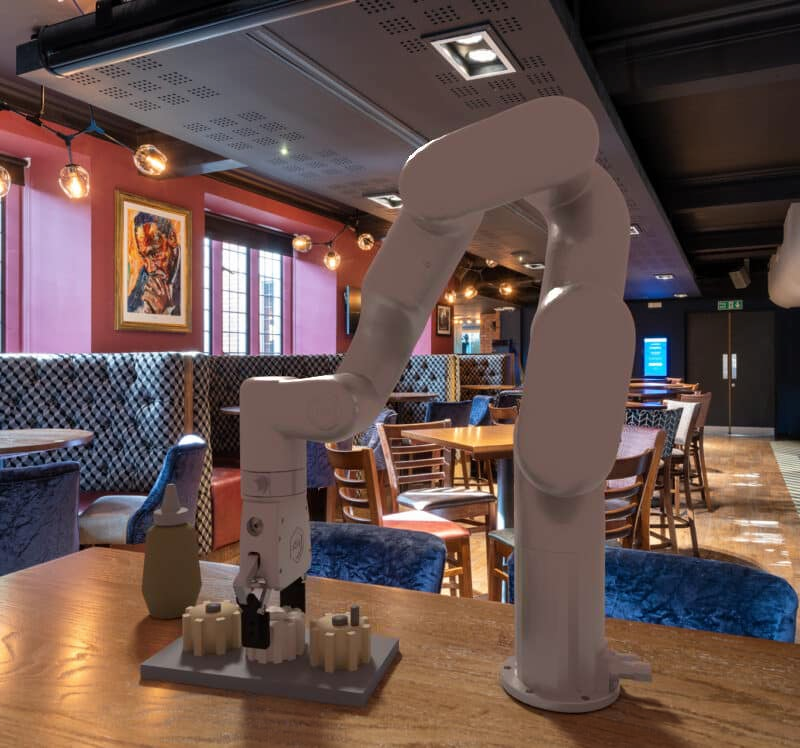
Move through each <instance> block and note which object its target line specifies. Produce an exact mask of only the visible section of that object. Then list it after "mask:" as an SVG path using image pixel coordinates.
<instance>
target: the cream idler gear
mask: <svg viewBox="0 0 800 748" xmlns="http://www.w3.org/2000/svg"><path fill="white" fill-rule="evenodd" d="M266 611H269V612H270V647H269V648H267V649H266V650H264V649H255V648H246V647H245V655H246V656H247V655H248V659H249V660H251V661H254V660H258V663H264V664H266V663H267V662H268V661H269V662H274V664H276V663H282V660H285V659H287V660H289V661H291V660H293V659H296V655H302V654H303V653H304V649H305V628H306V613H305V614H304V612H301V609H299V608H294V609H292V608H291V606H283V607H280V606H277V605H270V606H269V605H268V608H267V609H266ZM273 621H276V622H273Z"/></svg>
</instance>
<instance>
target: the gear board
mask: <svg viewBox="0 0 800 748" xmlns="http://www.w3.org/2000/svg"><path fill="white" fill-rule="evenodd" d="M201 603H202V604H201ZM201 603H200V604H198V605H195V607H192V606H189V607H187V608H186V609H185V614H183V615H182V617H181V618H182V619H181V620H182V635H181V636H180V637H179V636H178V638H176V639H175V640H173V641H172V642H171V643H169V644H168V645H166V646H165V647H164V648H162V649H161V650H159V651H158V652H156V653H155V654H153V655H151V656H150V657H149V658H147V659H146V660H145V661H143V662H142V663H140V665H139V666H140V667H139V668H140V675H139V676H140V679H147V680H154V681H161V682H168V683H176V684H184V685H192V686H198V687H206V688H212V689H213V688H214V689H220V690H227V691H235V692H243V693H249V694H250V693H251V694H256V695H265V696H272V697H280V698H286V699H293V700H294V699H295V700H302V701H309V702H315V701H316V702H317V703H321V704H322V703H324V704H330V705H331V704H332V705H337V704H338V705H339V706H344V705H347V706H346V707H353V708H359V707H360V708H361V709H364V707H365V705H366V704H367V702H368V700H369V699H370V697H371V695H372V694H373V693H374V692H375V689H376V688H377V686H378V685H379V683H380V682H381V680H382V678H383V677H384V676H385V674H386V672H387V670H388V669H389V667H390V665H391V664H392V662H393V661H394V659H395V657H396V656H397V654H399V653H398V652H399V651H400V637H395V636H394V637H392V636H391V637H390V636H382V635H373V634H372V631H371V628H372V627H371V624H370V617H368V616H366V615H363V616H360V606H359V605H356V604H355V605H351V606H349V607H350V611H345V613H335V614H334V613H333V612H332V611H331V612H326V613H323V617H320V618H312V619H310V621H309V628H308V627H305V649H304V653H303V654H302V655H296V659H293V660H291V661H289V660H287V659H285V660H282V663H276V664H274V662H269V661H268V662H267V663H266V664H264V663H258V660H254V661H251V660H249V659H248V655H247V656H246V655H245V647H243V646H242V644H241V613H240V612H239V609H238V608H239V606H238V604H237V603H236V604H234V603H232V600H230V599H224V600H223V601H214V602H213V601H211V600H205V601H202V602H201ZM273 622H276V621H273ZM338 705H337V706H338Z"/></svg>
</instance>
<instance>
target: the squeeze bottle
mask: <svg viewBox="0 0 800 748" xmlns="http://www.w3.org/2000/svg"><path fill="white" fill-rule="evenodd" d="M178 494H179V493H178V491H177V487H176V484H175V483H167V484H166V485H165V490H164V493H163V500H162V503H161V508H160V509H156V510H154V511H153V524H154V525H152V526H150V527H149V528H148V529H147V530H146V535H145V549H144V559H143V569H142V570H143V571H142V578H141V579H142V580H141V594H142V597H143V599H144V602H145V605H146V607H147V610H148V612H149V615H150V617H152V618H154V619H158V620H160V619H161V620H170V619H177V618H182V615H183V614H185V609H186V608H187V607H189V606H192V607H196V606H197V601H198V599H199V595H200V592H201V589H202V586H203V581H202V575H201V574H202V573H201V566H200V565H201V564H200V557H199V555H200V554H199V547H198V539H197V531H196V530H197V528H196V527H195V525H194V524H192V523H190V522H189V509H188V508H187V507H181V504H180V503H181V502H180V500H179V495H178Z"/></svg>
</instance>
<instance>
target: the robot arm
mask: <svg viewBox="0 0 800 748" xmlns="http://www.w3.org/2000/svg"><path fill="white" fill-rule="evenodd" d="M599 148H600V132H599V126H598V123H597V121H596V119H595V117H594V115H593V113H592V112H591V111H590V110H589V108H588V107H586V106H585V105H584V104H583V103H581V102H579V101H577V100H576V99H574V98H570V97H567V96H560V95H550V96H545V97H543V96H542V97H538V98H535V99H532V100H529V101H526V102H524V103H521V104H518V105H516V106H514V107H511V108H508V109H506V110H504V111H501V112H498V113H496V114H493V115H491V116H490V117H486V118H483V119H481V120H479V121H476V122H473V123H471V124H468V125H466V126H463V127H461V128H458V129H457V130H454V131H452V132H449V133H447V134H444V135H443V136H440V137H437V138H436V139H433V140H431V141H430V142H427V143H425V145H423V146H421V147H420V148H418V149H417V150H416V151H414V153H412V155H410V156H409V158H408V159H407V161H405V163H404V165H403V167H402V169H401V171H400V174H399V179H398V193H399V198H400V201H401V203H402V205H401V207H400V209H399V212H398V213H397V216H396V217H395V219H394V221H393V223H392V224H391V226H390V229H389V230H388V232H387V234H386V236H385V238H384V240H383V242H382V243H381V245H380V247H379V249H378V250H377V253H376V254H375V256H374V258H373V260H372V262H371V263H370V265H369V267H368V269H367V271H366V273H365V274H364V276H363V279H362V283H361V288H360V314H359V315H360V316H359V321H358V324H357V327H356V331H355V334H354V335H353V338H352V340H351V342H350V345H349V347H348V349H347V351H346V353H345V355H344V356H343V358H342V360H341V362H340V364H339V366H338V367H337V369H336V371H335V372H334V374H327V375H321V376H319V375H318V376H313V377H307V378H298V377H295V376H282V375H281V376H279V375H278V376H272V375H271V376H269V375H268V376H253V377H249V378H246V379H245V380H244V381H243V382H242V383H241V385H240V387H239V446H240V447H239V453H240V454H239V455H240V456H239V457H240V459H239V461H240V463H239V464H240V467H239V468H240V498H241V500H243V501H242V509H241V519H240V533H239V552H238V553H239V554H238V555H239V558H238V559H239V562H238V563H239V565H238V566H239V568H238V569H239V571H238V573H237V575H236V576H235V577H234V580H233V582H232V589H233V591H234V594H235V603H236V604H238V606H239V608H238V609H239V612H240V613H241V644H242V646H243V647H246V648H255V649H264V650H266V649H267V648H269V647H270V612H269V611H266V609H268V606H269V605H268V604H269V601H270V598H271V594H272V591H275V592H279V607H283V606H291V608H292V609H294V608H299V609H301V612H304V614H305V615H306V613H307V612H306V611H307V608H306V607H307V606H306V605H307V604H306V603H307V602H306V601H307V600H306V595H307V594H306V593H307V592H306V580H307V577H308V574H307V571H308V570H309V569H310V568H311V565H312V544H311V543H312V542H311V524H310V513H309V512H310V511H309V506H308V505H309V504H308V500H307V499H308V498H307V494H308V493H307V492H308V490H307V489H308V488H307V483H308V482H307V480H308V479H307V477H308V476H307V473H308V471H307V441H309V442H315V443H320V444H322V443H323V444H337V443H341V442H344V441H348V440H349V439H351V438H353V437H355V436H356V435H358V434H360V433H363V432H365V431H366V430H368V429H369V428H370V427H372V425H373V424H374V423H375V421H376V420H377V419H378V417H379V416H380V415H381V413H382V411H383V410H384V408H385V406H386V404H387V403H388V400H389V399H390V397H391V396H392V393H393V391H394V389H396V386H397V384H398V383H399V381H400V379H401V377H402V375H403V373H404V372H405V369H406V367H407V365H408V363H409V361H410V359H411V356H412V355H413V353H414V351H415V348H416V346H417V344H418V342H419V341H420V339H421V337H422V335H423V333H424V332H425V329H426V326H427V324H428V321H429V319H430V317H431V315H432V313H433V311H434V309H435V307H436V305H437V303H438V302H439V300H440V298H441V297H442V294H443V293H444V291H445V289H446V287H447V285H448V284H449V282H450V280H451V278H452V276H453V274H454V272H455V271H456V269H457V267H458V265H459V263H460V262H461V260H462V259H463V257H464V255H465V253H466V251H467V249H468V248H469V245H470V244H471V242H472V240H473V238H474V236H475V235H476V233H477V231H478V229H479V227H480V225H481V224H482V222H483V218H484V216H485V213H486V212H488V211H490V210H494V209H497V208H499V207H502V206H504V205H505V206H506V205H508V204H510V203H513V202H515V201H518V200H521V199H523V200H524V201H526V202H527V203H528V204H530V205H531V206H532V207H534V208H535V209H536V210H538V211H539V213H540V214H541V215H542V217H543V218H544V221H545V223H546V225H547V226H546V227H547V234H548V235H547V236H548V237H547V242H546V251H545V257H544V258H545V260H544V271H543V276H542V282H541V287H540V293H539V300H538V304H537V308H536V312H535V313H534V316H533V319H532V321H531V325H530V334H529V335H530V340H529V345H528V353H527V359H526V365H525V372H524V379H523V383H522V384H523V385H522V391H521V398H520V403H519V404H520V405H519V411H518V415H517V418H516V420H515V423H514V428H513V435H512V439H513V440H512V445H513V447H512V449H513V477H514V478H513V480H514V481H513V483H514V484H513V485H514V487H513V488H514V491H513V492H514V493H513V494H514V495H513V496H514V502H513V503H514V506H513V507H514V508H513V509H514V516H513V517H514V519H513V521H514V524H513V525H514V527H513V528H514V531H513V533H514V541H513V542H514V544H513V545H514V549H513V550H514V551H513V553H514V555H513V559H514V560H513V561H514V564H513V565H514V571H513V573H514V575H513V580H514V581H513V582H514V586H513V587H514V589H513V590H514V592H513V593H514V594H513V595H514V596H513V597H514V598H513V599H514V602H513V603H514V605H513V607H514V608H513V609H514V611H513V612H514V613H513V614H514V615H513V616H514V623H513V624H514V627H513V628H514V629H513V630H514V643H513V644H514V654H513V655H511V656H509V657H508V658H506V659H505V660H504V661H503V662H502V664H501V666H500V667H499V669H500V670H499V678H500V683H501V686H502V688H503V689H504V690H505V691H506V692H507V693H508V694H509V695H511V697H513V698H515V700H516V699H517V701H520V702H522V703H524V704H526V705H529V706H531V707H534V708H538V709H541V710H546V711H551V712H556V713H557V712H558V713H569V714H571V713H575V714H576V713H586V712H593V711H597V710H601V709H604V708H606V707H608V706H610V705H611V704H613V703H614V702H615V701H616V700H617V699H618V697H620V693H621V679H622V680H630V681H633V682H638V683H647V684H651V683H652V681H653V680H652V678H653V677H652V676H653V675H652V672H653V671H652V663H651V662H645V661H638V656H637V654H635V653H627V652H625V653H622V652H621V653H620V652H614V651H615V649H610V648H609V644H608V637H607V636H606V614H605V613H606V565H605V564H606V497H605V480H606V479H607V478H608V477H609V475H610V473H611V472H612V469H613V467H614V465H615V463H616V460H617V457H618V452H619V450H620V444H621V438H622V433H623V429H624V422H625V416H626V410H627V405H628V398H629V393H630V387H631V386H630V385H631V379H632V376H633V375H632V373H633V367H634V361H635V353H636V345H637V344H636V343H637V342H636V341H637V340H636V337H637V336H636V326H635V321H634V317H633V316H632V315H633V314H632V312H631V311H630V309H629V307H628V305H627V304H626V302H625V301H624V296H625V295H624V294H625V287H626V282H627V281H626V280H627V275H628V274H627V272H628V263H629V255H630V245H631V233H632V232H631V229H632V228H631V217H630V216H631V215H630V211H629V207H628V205H627V202H626V199H625V197H624V195H623V193H622V191H621V189H620V187H619V186H618V184H617V183H616V181H615V180H614V178H613V177H612V175H610V174H609V173H608V172H607V170H606V169H604V167H602V166H601V165H600V164H599V163H598V162H597V161H596V159H597V156H598V154H599V153H598V152H599ZM253 592H258V593H259V592H260V597H259V598H258V597H257V596H256V594H255V593H253Z"/></svg>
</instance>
